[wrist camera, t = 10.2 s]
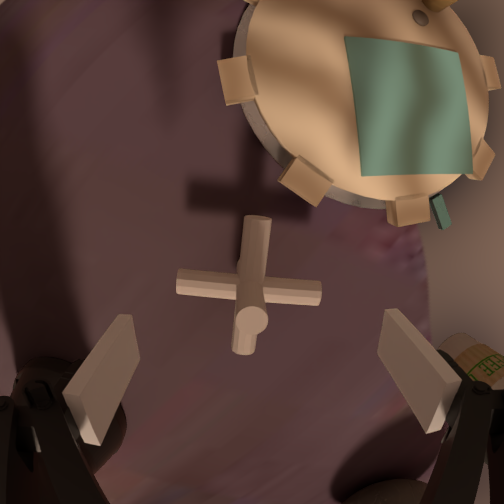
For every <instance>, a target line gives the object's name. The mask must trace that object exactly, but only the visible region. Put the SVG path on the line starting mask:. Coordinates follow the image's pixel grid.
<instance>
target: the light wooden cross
mask: <svg viewBox="0 0 504 504" xmlns="http://www.w3.org/2000/svg"><path fill="white" fill-rule="evenodd" d="M271 222H272V219H271V218H268V217H264V216H258V215H246V216H244V224H243V234H242V243H241V253H240V259H239V260H238V262H237V274H233V273H222V272H212V271H201V270H191V269H181V268H180V269H179V270H178V274H177V281H176V292H177V294H184V295H193V296H203V297H213V298H224V299H235V300H236V303H235V313H234V323H233V334H232V344H231V348H232V351H234V352H235V353H237V354H241V355H250V354H252V353H254V351H255V346H256V339H257V334H258V333H260V332H262V331H263V330H264V329H265V328H266V326H267V324H268V316H267V310H266V305H265V302H271V303H284V304H299V305H314V306H318V305H319V303H320V300H321V295H322V285H321V282H320V281H314V280H301V279H289V278H278V277H266V276H265V270H266V262H267V254H268V246H269V238H270V230H271Z"/></svg>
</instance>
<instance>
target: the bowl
mask: <svg viewBox="0 0 504 504" xmlns="http://www.w3.org/2000/svg"><path fill="white" fill-rule="evenodd" d="M426 487H427V483H425V482H422V481H418V480H413V479H391V480H385V481H381V482H378V483H375V484H372V485H370V486H367V487H365V488H363V489H361V490H359V491H358V492H356V493H354V494H353V495H352V496H350V497H349V498H348V499H346V500H345V501H344V502H343V503H342V504H419V503H420V501H421V499H422V496H423V494H424V492H425V489H426Z"/></svg>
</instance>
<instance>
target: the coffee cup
mask: <svg viewBox="0 0 504 504" xmlns="http://www.w3.org/2000/svg"><path fill="white" fill-rule="evenodd" d="M439 349H441V350H442V351H444V352H446V353H448V354H449V355H450V356H451V357H452V358H453V359H454V361H455V362H456V363H457V364H458V366H460V367H461V368H462V369H463V370H464V371H465V373H466V374H467V375H468V376H469V377H470V378H471V379H472V380H473V381H482V382H485V383H487V384H488V385H490V386H491V388H492V389H493V390H501V389H504V356H502V355H501V354H499V353H497V352H496V351H494V350H493V349H491V348H490V347H488V346H486V345H484V344H481V343H480V342H478V341H476V340H475V339H473V338H472V337H470V336H469V335H467V334H465V333H457V334H454V335H452V336H451V337H449V338H448V339H446V340H445V341H444V342H443V343H442V344H441V345H440V346H439V348H438V349H437V350H439ZM484 462H485V463H486V464H487V465H488V458H487V448H486V453H485V458H484Z"/></svg>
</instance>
